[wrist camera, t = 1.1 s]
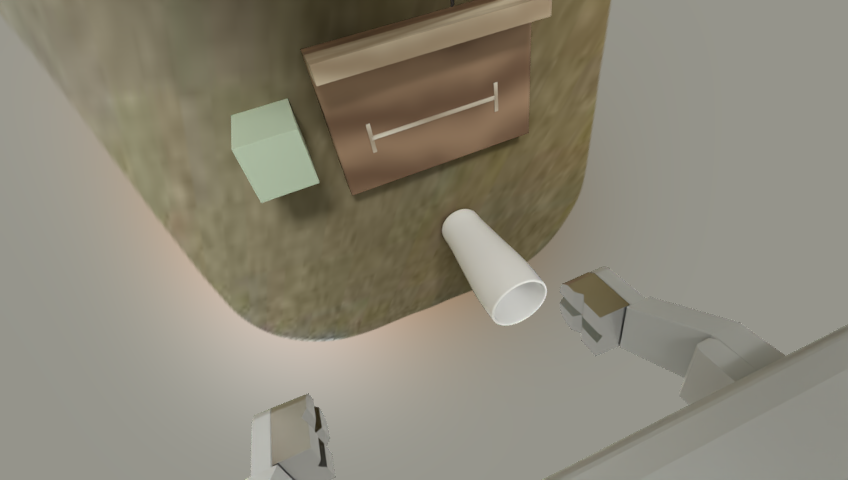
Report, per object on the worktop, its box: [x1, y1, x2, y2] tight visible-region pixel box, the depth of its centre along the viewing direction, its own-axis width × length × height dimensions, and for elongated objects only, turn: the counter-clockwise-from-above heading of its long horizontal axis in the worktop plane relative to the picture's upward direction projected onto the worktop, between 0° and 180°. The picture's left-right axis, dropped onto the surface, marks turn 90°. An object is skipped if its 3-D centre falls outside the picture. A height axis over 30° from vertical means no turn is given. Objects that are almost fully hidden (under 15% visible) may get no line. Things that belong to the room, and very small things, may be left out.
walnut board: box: [300, 0, 552, 195], centre depth 37 cm, size 14×21×5 cm, turn 100°
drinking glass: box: [442, 209, 547, 326], centre depth 46 cm, size 7×7×15 cm
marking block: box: [231, 99, 320, 203], centre depth 34 cm, size 6×5×7 cm
